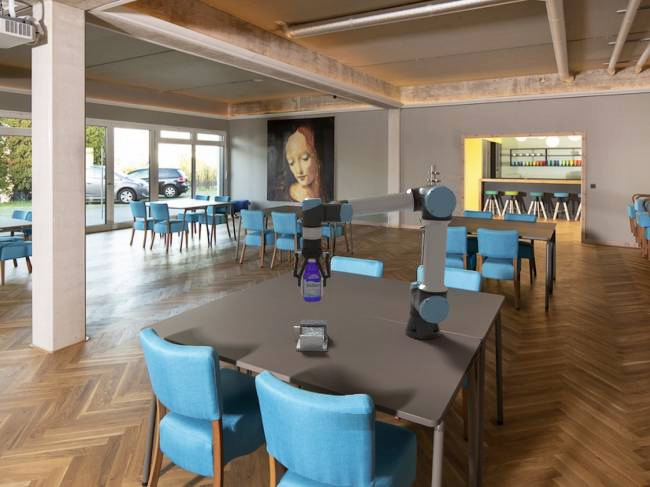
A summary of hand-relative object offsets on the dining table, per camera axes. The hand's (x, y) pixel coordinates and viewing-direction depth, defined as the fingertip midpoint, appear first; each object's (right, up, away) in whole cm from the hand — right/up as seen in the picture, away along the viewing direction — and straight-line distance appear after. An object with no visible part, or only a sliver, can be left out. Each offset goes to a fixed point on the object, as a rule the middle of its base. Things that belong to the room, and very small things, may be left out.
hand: (312, 294), depth 193 cm
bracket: (0, -21, +3) cm, 21 cm away
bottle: (0, -3, 0) cm, 3 cm away
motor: (-1, -20, +12) cm, 23 cm away
